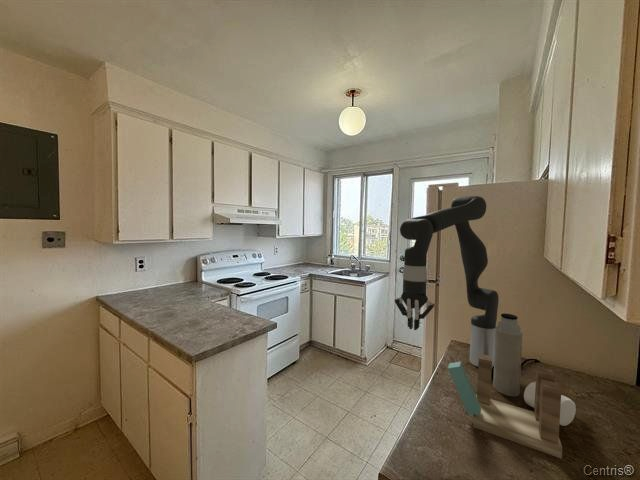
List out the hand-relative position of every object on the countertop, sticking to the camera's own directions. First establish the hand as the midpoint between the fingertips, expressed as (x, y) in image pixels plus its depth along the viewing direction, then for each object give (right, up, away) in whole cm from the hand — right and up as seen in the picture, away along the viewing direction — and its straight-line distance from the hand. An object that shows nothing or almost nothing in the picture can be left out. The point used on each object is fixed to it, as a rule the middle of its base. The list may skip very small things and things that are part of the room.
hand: (413, 328), depth 90 cm
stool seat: (+26, -26, -11) cm, 38 cm away
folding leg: (+16, -23, -9) cm, 29 cm away
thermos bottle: (+37, -25, +8) cm, 45 cm away
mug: (+43, -26, -5) cm, 51 cm away
